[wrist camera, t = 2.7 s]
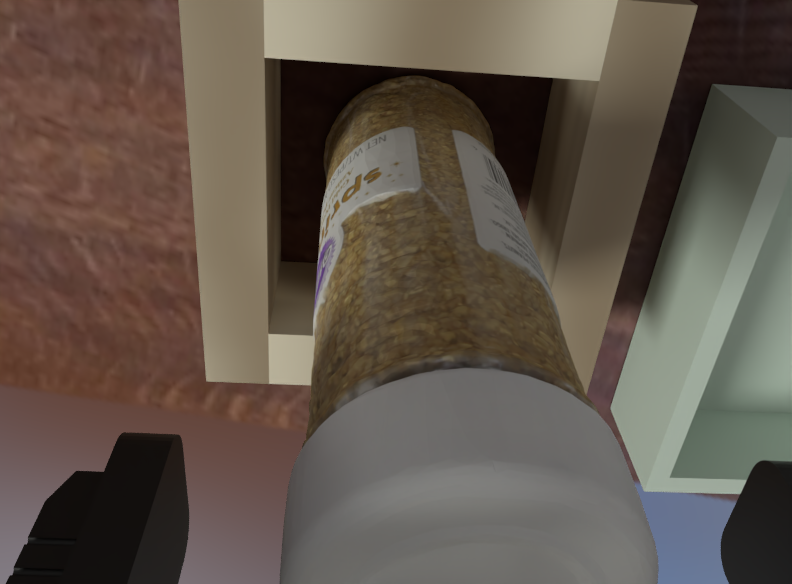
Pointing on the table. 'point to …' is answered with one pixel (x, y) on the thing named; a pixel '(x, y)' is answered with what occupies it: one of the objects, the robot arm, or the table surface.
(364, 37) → the socket block
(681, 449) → the tray
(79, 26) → the table surface
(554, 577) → the sprinkles bottle
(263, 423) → the table surface
